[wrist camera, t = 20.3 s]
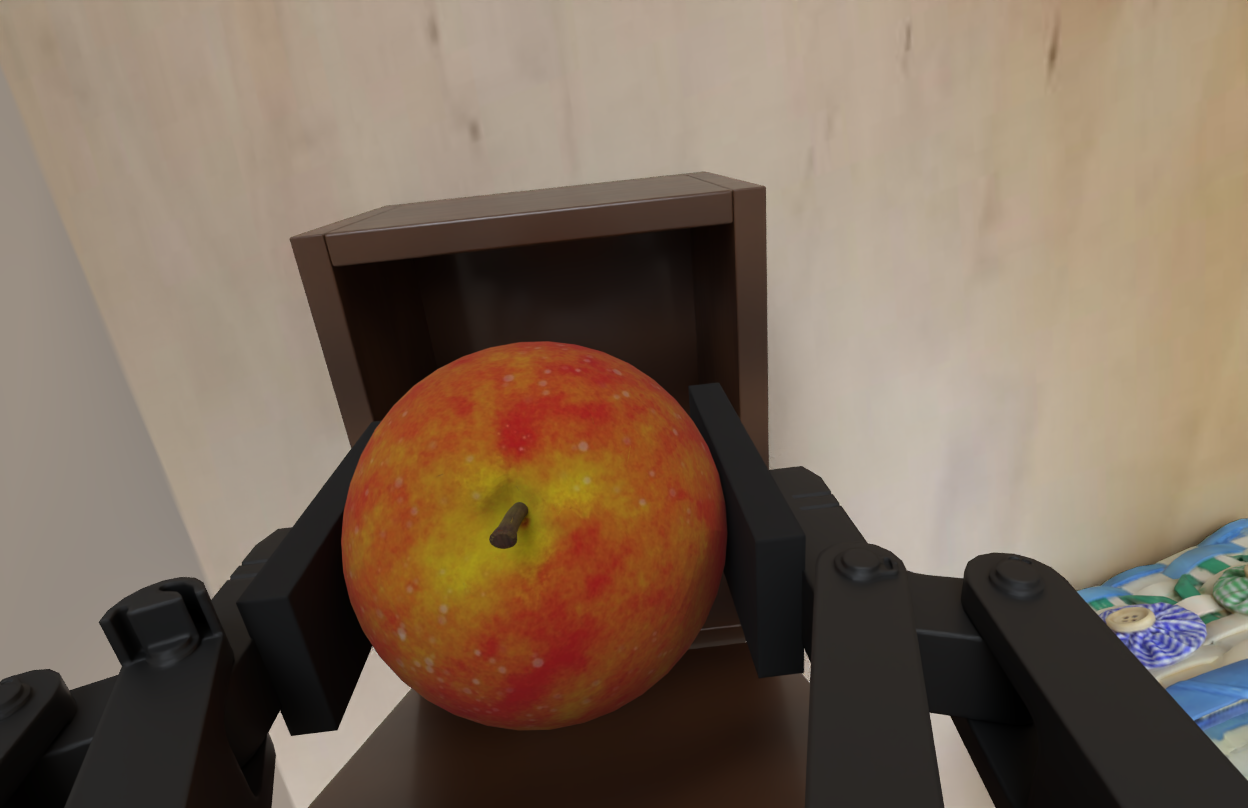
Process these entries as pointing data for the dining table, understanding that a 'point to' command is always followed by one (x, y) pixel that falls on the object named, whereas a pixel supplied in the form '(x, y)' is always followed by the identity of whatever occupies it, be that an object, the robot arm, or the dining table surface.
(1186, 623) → the basket
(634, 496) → the fruit
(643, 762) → the lid
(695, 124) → the dining table surface
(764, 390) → the chest
